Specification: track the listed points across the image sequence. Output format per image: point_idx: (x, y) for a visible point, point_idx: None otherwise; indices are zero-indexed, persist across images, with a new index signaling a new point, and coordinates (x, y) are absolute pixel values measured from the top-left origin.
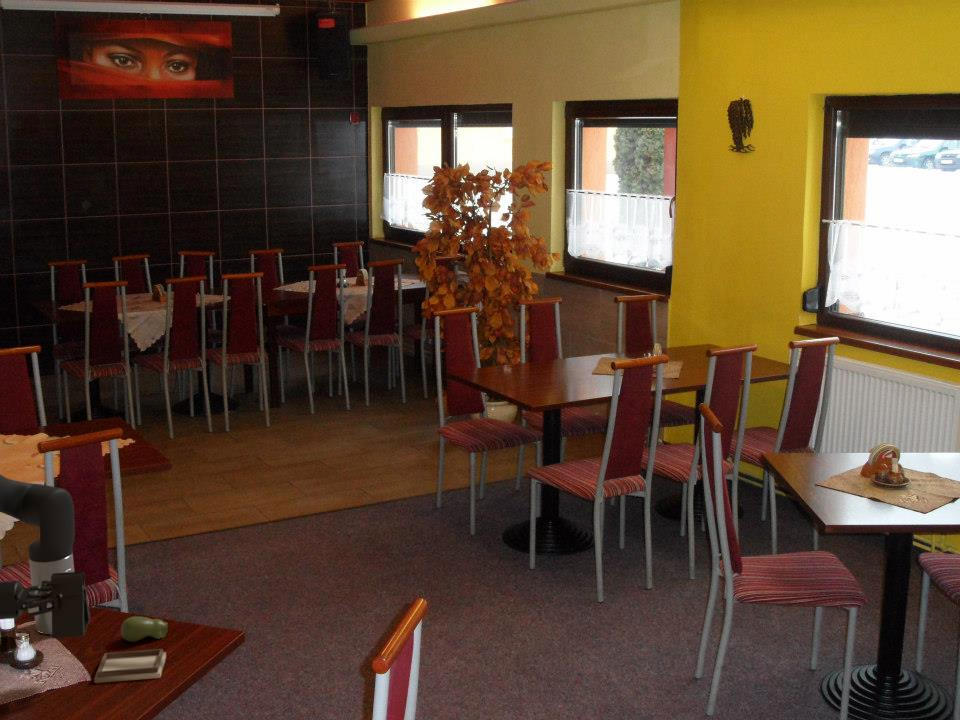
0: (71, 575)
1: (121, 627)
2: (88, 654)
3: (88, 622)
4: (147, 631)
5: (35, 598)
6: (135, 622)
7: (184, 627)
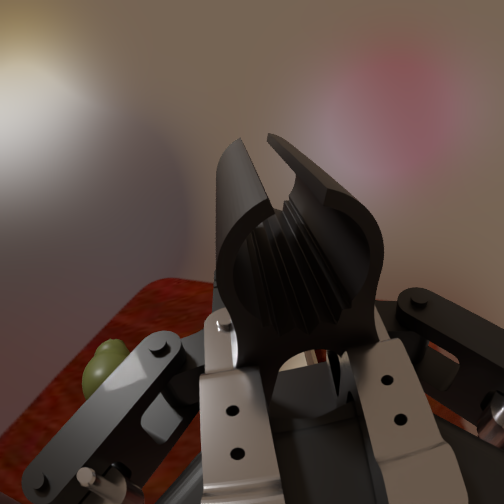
0: (293, 148)
1: None
2: (166, 484)
3: None
4: None
5: (464, 438)
6: (114, 368)
7: (105, 337)
